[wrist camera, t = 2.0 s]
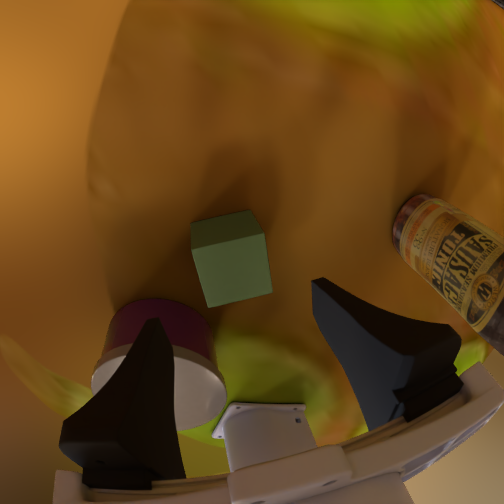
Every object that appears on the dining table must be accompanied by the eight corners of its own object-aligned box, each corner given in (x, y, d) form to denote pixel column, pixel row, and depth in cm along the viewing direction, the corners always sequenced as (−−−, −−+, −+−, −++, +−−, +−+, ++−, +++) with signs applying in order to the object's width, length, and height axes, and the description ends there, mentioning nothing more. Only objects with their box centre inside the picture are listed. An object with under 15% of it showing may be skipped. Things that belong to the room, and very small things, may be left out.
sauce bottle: (403, 181, 20) (621, 326, 3) (446, 201, 22) (616, 321, 5) (375, 254, 23) (543, 437, 6) (420, 264, 25) (562, 405, 7)
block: (250, 209, 19) (264, 232, 16) (258, 261, 21) (273, 292, 18) (190, 222, 19) (190, 249, 15) (204, 274, 21) (208, 308, 17)
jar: (232, 309, 23) (246, 366, 17) (201, 384, 26) (207, 436, 21) (109, 281, 19) (90, 337, 14) (102, 366, 23) (92, 418, 18)
